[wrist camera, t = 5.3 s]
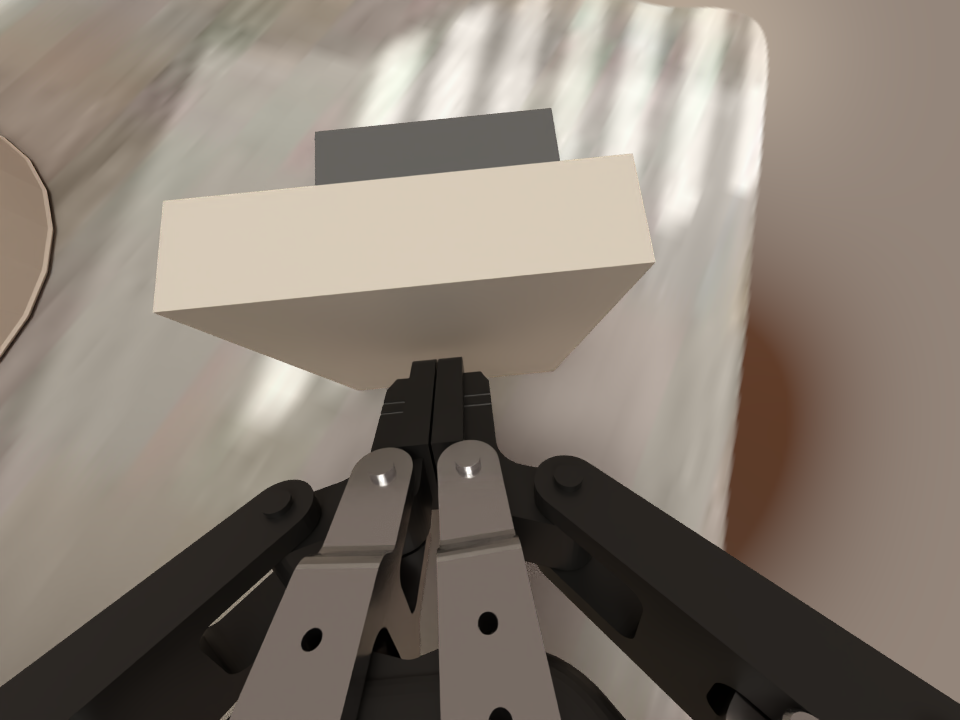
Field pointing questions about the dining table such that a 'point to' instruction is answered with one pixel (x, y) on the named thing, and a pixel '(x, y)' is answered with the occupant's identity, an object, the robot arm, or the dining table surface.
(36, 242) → the kettle
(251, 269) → the tile
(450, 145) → the mat
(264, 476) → the dining table surface
